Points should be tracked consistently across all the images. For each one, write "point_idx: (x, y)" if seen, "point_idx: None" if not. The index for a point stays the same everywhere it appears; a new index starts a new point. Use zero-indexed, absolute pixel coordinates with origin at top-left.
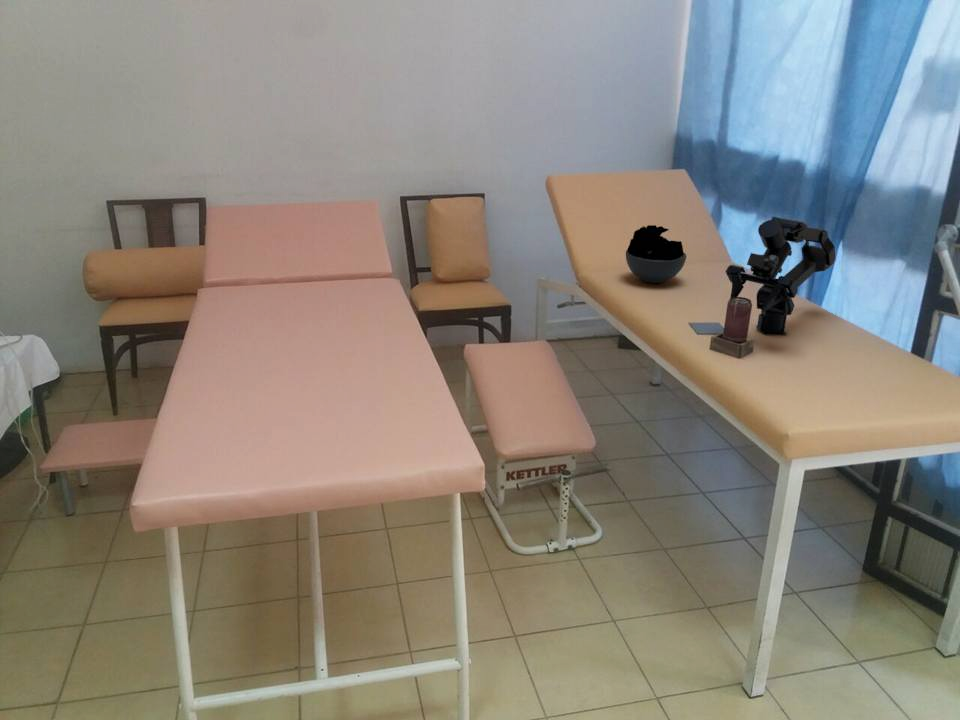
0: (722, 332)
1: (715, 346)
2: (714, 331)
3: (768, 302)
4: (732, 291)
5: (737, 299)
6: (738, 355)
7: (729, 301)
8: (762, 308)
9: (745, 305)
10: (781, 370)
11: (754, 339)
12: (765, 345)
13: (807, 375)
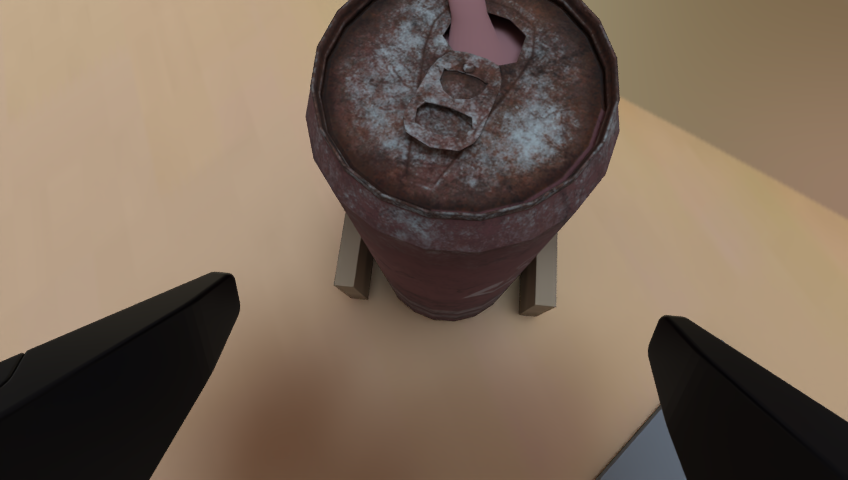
0: (549, 262)
1: None
2: (675, 456)
3: (105, 322)
4: (819, 413)
5: (529, 128)
6: None
7: (567, 2)
8: (219, 275)
9: (348, 15)
10: (163, 164)
11: (334, 282)
12: (327, 456)
13: (48, 188)
